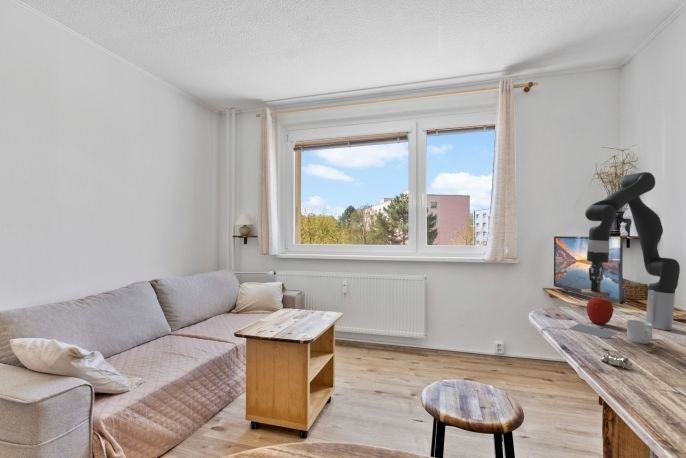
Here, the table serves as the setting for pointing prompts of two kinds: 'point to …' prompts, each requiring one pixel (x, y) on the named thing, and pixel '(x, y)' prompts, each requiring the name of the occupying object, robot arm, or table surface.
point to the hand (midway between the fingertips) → (595, 290)
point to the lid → (596, 293)
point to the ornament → (617, 360)
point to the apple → (599, 310)
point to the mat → (592, 331)
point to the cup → (639, 331)
